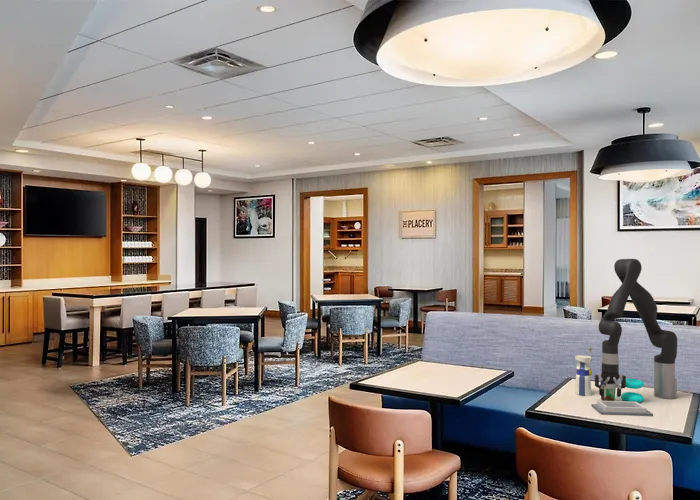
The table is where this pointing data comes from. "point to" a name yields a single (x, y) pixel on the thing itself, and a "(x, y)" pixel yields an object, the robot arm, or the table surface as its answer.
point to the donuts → (632, 395)
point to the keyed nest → (621, 408)
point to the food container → (609, 392)
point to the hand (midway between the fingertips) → (610, 396)
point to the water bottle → (583, 375)
